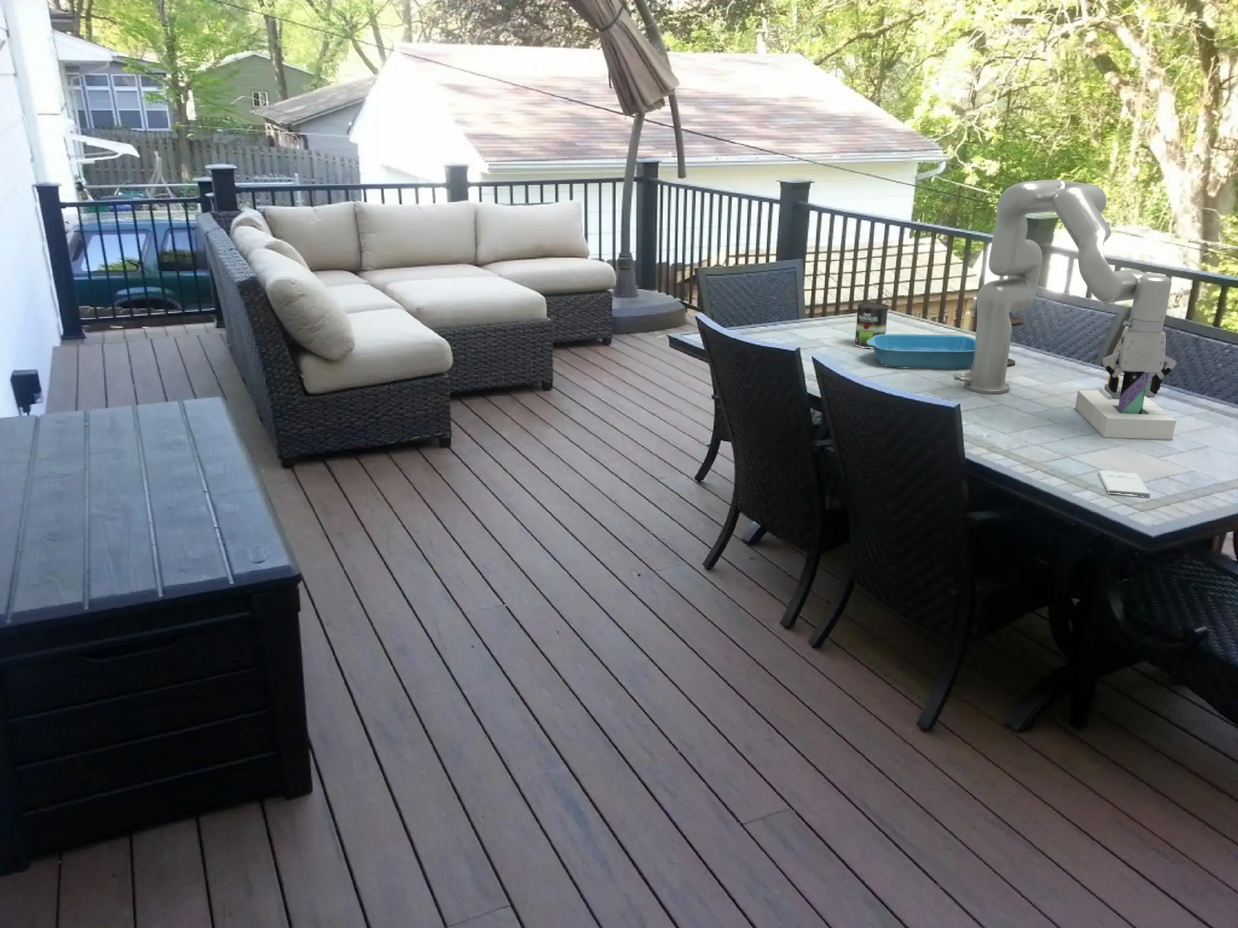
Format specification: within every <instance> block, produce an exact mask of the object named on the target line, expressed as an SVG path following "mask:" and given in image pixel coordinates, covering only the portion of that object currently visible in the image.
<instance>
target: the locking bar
mask: <svg viewBox="0 0 1238 928" xmlns="http://www.w3.org/2000/svg"><path fill="white" fill-rule="evenodd" d="M1120 377H1121V373H1120V374H1119V375H1118V378H1119V379H1120ZM1107 379H1108V380H1107V383H1105V384H1104V387H1103V388H1104V389H1105V390H1106V391H1107V392H1108V393H1109V394H1110V395H1112V399H1120V393H1121V388H1122V386H1120V385H1119V383H1120V381H1119V382H1118V387H1117V392H1116V393H1113V392H1112V391H1111V390H1110V388H1109V380H1110V374H1109V373H1108V378H1107Z"/></svg>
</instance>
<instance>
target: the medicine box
mask: <svg viewBox="0 0 1238 928" xmlns="http://www.w3.org/2000/svg"><path fill="white" fill-rule="evenodd" d="M1153 376H1155V374H1154V372H1149V375H1148V380H1147V386H1146V391H1145V396H1146V397H1147V398H1149V397H1150V398H1155V397H1156V394H1153V393H1152V392H1151V391H1150V386H1151V381H1152V377H1153Z"/></svg>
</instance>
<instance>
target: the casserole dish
mask: <svg viewBox="0 0 1238 928" xmlns="http://www.w3.org/2000/svg"><path fill="white" fill-rule="evenodd" d="M975 339H976V338H973V337H972V336H966V335H957V334H955V335H954V334H916V333H915V334H909V333H908V334H906V333H905V334H904V333H897V334H896V333H892V334H891V333H890V334H889V333H886V334H881V335H876V336H874V337H873V338H871V339H868V340H867V341H866V342H867V345H868V346H871V347H874V349H873V350H874V353H875V357H876V359H877V361H878V362H879V363H880V365H882V364H883V365H882V366H884V365H887V366H886V367H888V366H891V367H890V368H896V367H910V368H909V369H924V368H926V369H932V370H933V369H935V370H963V369H968V368H970V367H972V363H973V355H974V347H975Z"/></svg>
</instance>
